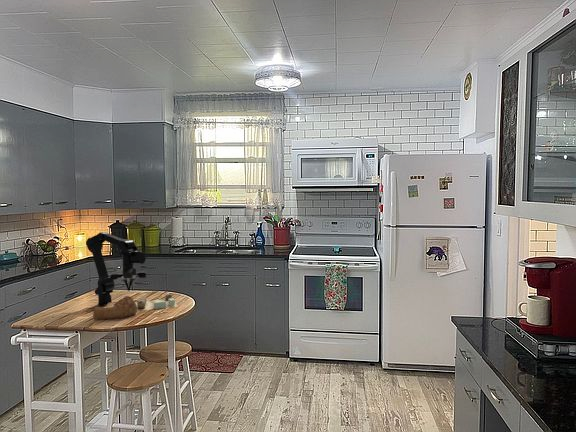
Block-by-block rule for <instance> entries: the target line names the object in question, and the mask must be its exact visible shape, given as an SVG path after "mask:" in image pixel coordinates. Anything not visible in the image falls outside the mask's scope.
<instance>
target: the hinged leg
mask: <svg viewBox="0 0 576 432" xmlns="http://www.w3.org/2000/svg"><path fill="white" fill-rule="evenodd" d="M147 301H148V300H147V296H140V298H139V300H138V301H136V302H137V308H138V309H143V308H145V304H146V302H147Z"/></svg>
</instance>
